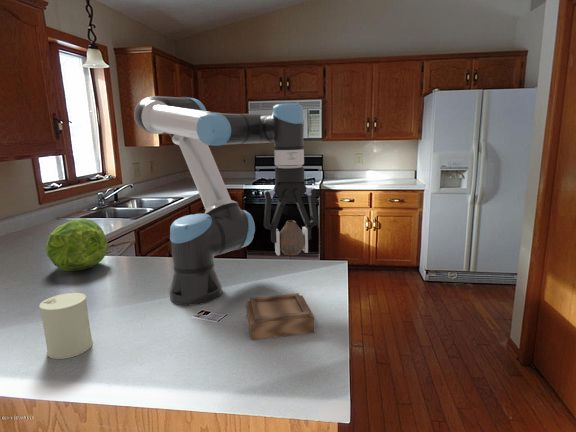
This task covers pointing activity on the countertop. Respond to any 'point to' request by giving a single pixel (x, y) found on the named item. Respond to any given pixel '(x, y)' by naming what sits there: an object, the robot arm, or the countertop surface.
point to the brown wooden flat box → (279, 316)
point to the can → (66, 325)
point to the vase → (291, 239)
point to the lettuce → (77, 245)
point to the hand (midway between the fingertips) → (291, 252)
